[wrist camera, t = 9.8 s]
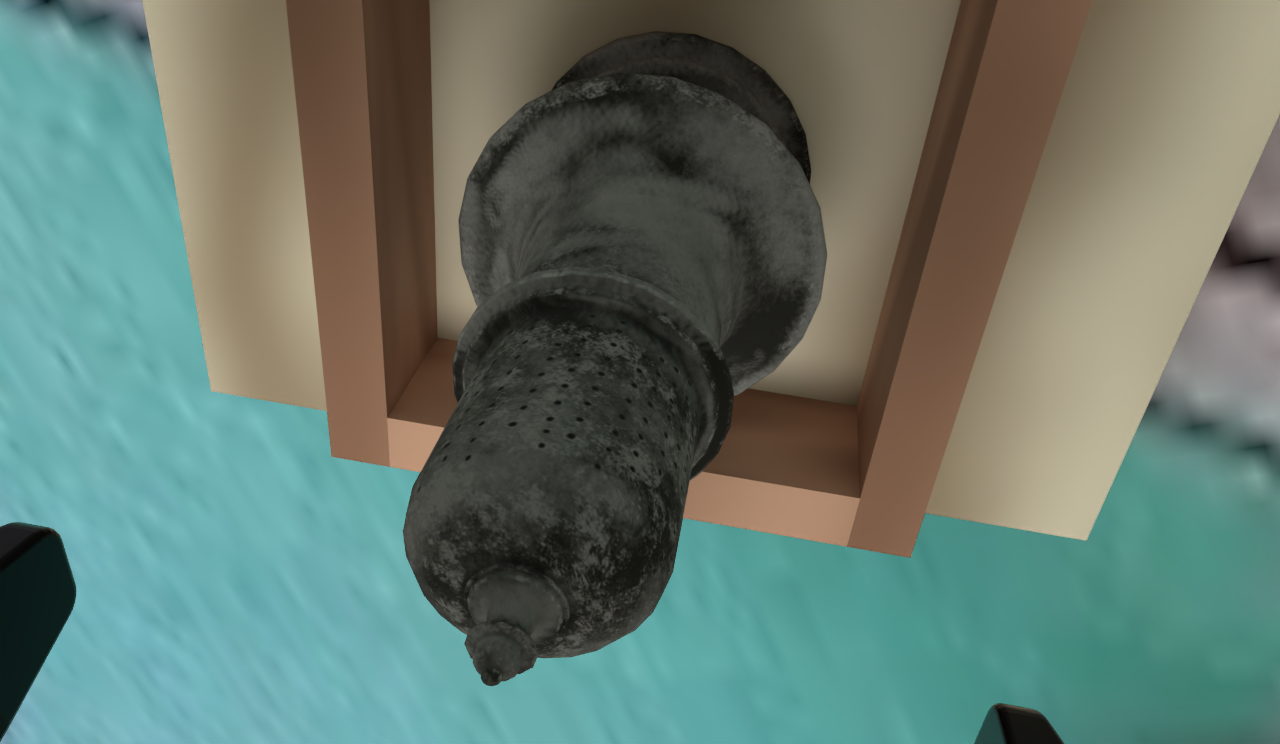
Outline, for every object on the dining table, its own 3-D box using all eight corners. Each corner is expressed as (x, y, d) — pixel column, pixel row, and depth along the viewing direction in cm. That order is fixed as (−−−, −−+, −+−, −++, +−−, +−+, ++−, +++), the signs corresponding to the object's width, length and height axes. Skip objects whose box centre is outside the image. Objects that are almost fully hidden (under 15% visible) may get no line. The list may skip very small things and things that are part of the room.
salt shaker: (489, 24, 18) (70, 409, 8) (827, 2, 17) (822, 415, 7) (540, 313, 21) (280, 850, 11) (827, 311, 20) (825, 901, 10)
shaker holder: (1371, -200, 16) (1542, -172, 12) (1072, 496, 23) (1118, 646, 20) (137, -336, 17) (-57, -350, 13) (242, 357, 25) (138, 470, 21)
